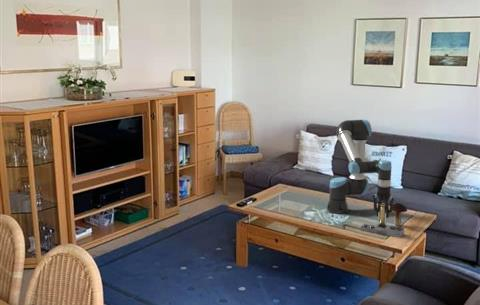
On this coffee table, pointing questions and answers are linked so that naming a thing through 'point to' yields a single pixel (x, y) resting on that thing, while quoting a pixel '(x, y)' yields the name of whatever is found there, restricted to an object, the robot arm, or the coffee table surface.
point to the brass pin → (382, 215)
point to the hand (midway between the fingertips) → (382, 222)
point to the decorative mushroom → (398, 212)
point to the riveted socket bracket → (384, 230)
